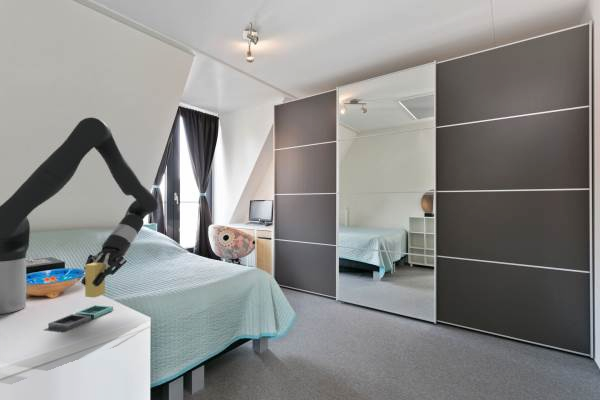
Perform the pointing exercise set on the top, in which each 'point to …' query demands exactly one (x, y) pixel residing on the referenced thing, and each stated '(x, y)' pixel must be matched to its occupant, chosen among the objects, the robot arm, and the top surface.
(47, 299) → the top surface
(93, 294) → the peg
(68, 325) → the base
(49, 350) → the top surface
